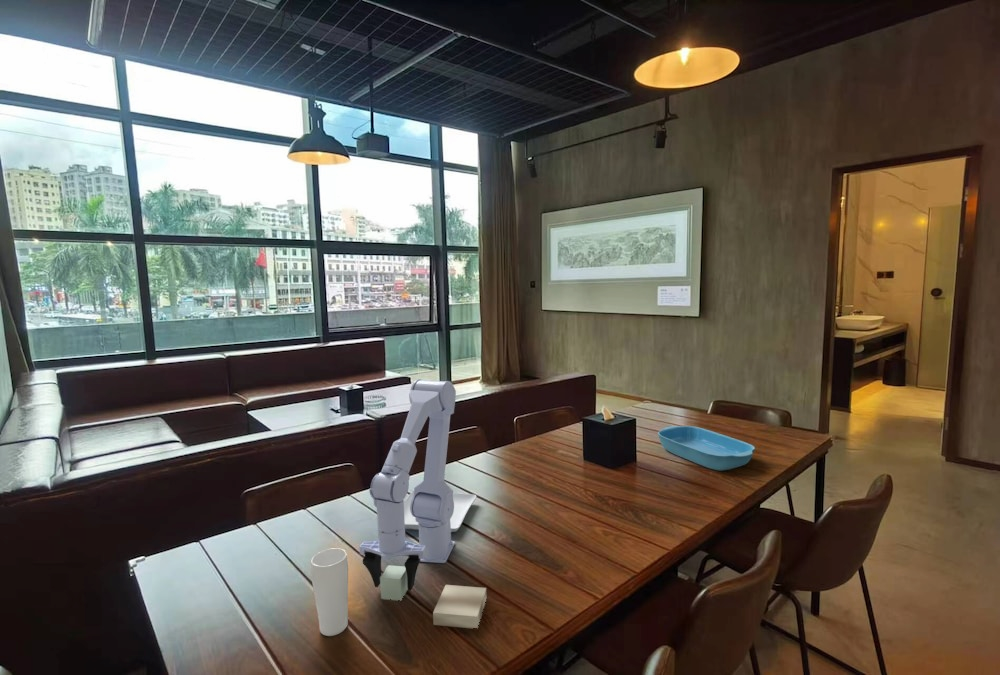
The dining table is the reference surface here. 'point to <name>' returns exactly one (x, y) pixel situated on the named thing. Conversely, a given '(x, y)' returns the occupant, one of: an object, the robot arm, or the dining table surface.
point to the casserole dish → (706, 447)
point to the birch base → (460, 606)
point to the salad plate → (460, 510)
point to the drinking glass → (331, 589)
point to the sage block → (393, 583)
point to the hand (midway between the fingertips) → (394, 585)
